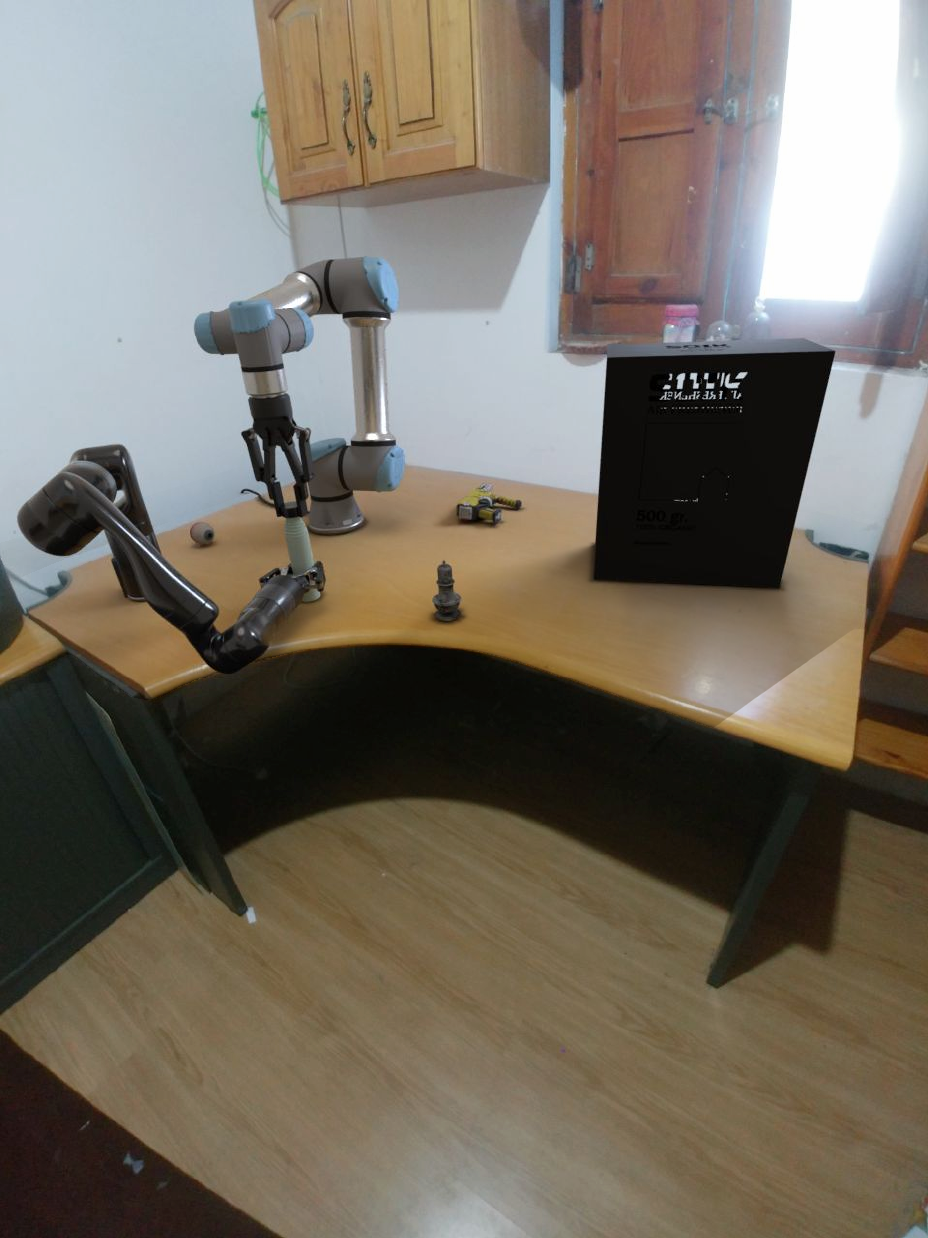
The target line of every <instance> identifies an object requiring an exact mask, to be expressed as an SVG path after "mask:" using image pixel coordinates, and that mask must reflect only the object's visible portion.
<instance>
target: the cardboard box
mask: <svg viewBox="0 0 928 1238" xmlns="http://www.w3.org/2000/svg"><path fill="white" fill-rule="evenodd" d="M835 356H836V350H834V349H831V348H829V347H827V346H824V345H821V344H819V343H816V342H814V341H812V340H810V339H806V338H804V337H799V338H798V337H797V338H796V337H795V338H794V337H793V338H767V339H766V338H765V339H737V340H736V339H735V340H732V339H731V340H707V341H705V340H703V341H675V342H672V341H671V342H670V341H669V342H648V343H647V342H646V343H645V342H644V343H643V342H642V343H639V342H638V343H613V344H612V343H611V344H609V343H607V349H606V363H605V364H606V365H605V367H606V368H605V381H604V396H603V411H602V412H603V413H602V429H601V444H600V445H601V446H600V461H599V477H598V479H599V480H598V494H597V507H596V508H597V509H596V511H597V512H596V523H595V524H596V525H595V538H594V539H595V540H594V559H593V561H594V562H593V579H592V580H595V581H612V582H613V581H616V582H617V581H618V582H636V583H638V582H639V583H660V584H661V583H662V584H680V585H681V584H682V585H683V584H684V585H706V586H726V587H727V586H729V587H748V588H749V587H750V588H751V587H752V588H770V589H771V588H772V589H780V588H781V583H782V579H783V575H784V571H785V567H786V562H787V558H788V554H789V550H790V545H791V542H792V539H793V538H792V537H793V533H794V529H795V524H796V521H797V516H798V512H799V507H800V505H801V504H800V503H801V499H802V495H803V491H804V488H805V487H804V486H805V483H806V478H807V475H808V474H807V473H808V469H809V465H810V461H811V457H812V452H813V450H814V449H813V448H814V444H815V441H816V437H817V431H818V428H819V423H820V420H821V415H822V410H823V407H824V402H825V398H826V393H827V389H828V385H829V381H830V377H831V372H832V368H833V365H834V360H835ZM741 373H746V374H745V375H744V377H741V378H738V376H739V374H741ZM682 374H684V378H683V381H682V385H681V386H682V388H678V385H679V384H678V383H679V379H678V377H679V376H680V375H682ZM692 374H696V378H695V379H694V378H691V376H692ZM706 374H707V378H705V375H706ZM723 375H724V376H723ZM727 377H729V378H728V381H727V382H728V385H729V384H731V385H732V384H738V385H737V387H727V385H726V379H727ZM722 379H723V380H722ZM694 384H696V385H697V384H698V387H695V388H694ZM708 384H713V388H712V387H711V388H710V387H709V388H708ZM666 386H668V387H669V388H665V387H666Z"/></svg>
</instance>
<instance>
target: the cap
mask: <svg viewBox="0 0 928 1238" xmlns="http://www.w3.org/2000/svg"><path fill="white" fill-rule="evenodd" d="M280 510H281V515H282V516H281V517H282V518H284V519H286V518H295V517H299V513H298V508H297V503H296V501H286V502H284V504H282V505H280Z"/></svg>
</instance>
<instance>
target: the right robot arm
mask: <svg viewBox="0 0 928 1238" xmlns="http://www.w3.org/2000/svg"><path fill="white" fill-rule="evenodd" d="M399 303H400V294H399V286H398V282H397V279H396V275H395V273H394V270H393V268H392V266H391V264H390V263H389V261H387V260H386V259H385V258H384V257H381V256H367V255H365V256H359V257H347V258H336V259H332V258H331V259H324V260H320V261H317V262H314V263H311V264H309V265H307V266H304V267H302V268H300V269H298V270H296V271H294V272H290V273H289V274H288V275H287V276H286V277H284V278H283V281H282V283H280V284H277V285H276V286H274V287H272V288H269V289H267V290H265V291H264V292H261V293H259V294H257V295H254V296H252V297H250V298H248V299H245V300H244V299H243V300H234V301H231V302H230V303H229V305H228V307H227V308H225V309H223V310H220V311H213V310H210V311H209V312H201V313H199V314H198V315H197V316H196V318H195V320H194V324H193V332H194V336H195V339H196V342H197V344H198V346H199V347H200V348H201V350H203V352H205V353H207V354H210V355H220V356H225V355H238V359H239V363H240V369H241V375H242V380H243V384H244V389H245V393H246V395H248V396H249V397H248V399H247V402H248V407H249V411H250V416H251V418H252V420H253V421H252V427H249V428H247V429H244V430H242V431H241V432H240V435H241V437H242V439H243V440H244V442H245V444H246V447H247V451H248V455H249V459H250V463H251V467H252V471H253V475H254V479H255V481H256V482H258V483H260V482H261V483H263V484H265V486H266V489H267V494H268V498H269V500H270V501H273V502H270V501H268V500H266V499H265V498H263V497H262V495H261V494H260V493H259V492H258V491H255V490H253V489H250V488H243V489H242V490H240V494H244V492H249V493H251V494H254V495H256V496H257V497H258V498H259V500H261V501H262V502H263V503H265V504H266V505H268V506H270V507H274V509H275V515H276V518H281V517H282V515H281V510H280V505H282V504H284V503H285V500H284V495H283V490H282V485H281V481H277V480H278V477H277V476H276V474H277V473H276V469H277V467H276V466H277V465H276V448H277V447H279V448H280V449H281V451H282V452H283V453H284V455H285V458H286V461H287V463H288V466H289V468H290V471H291V474H292V476H293V479H294V481H295V483H294V484H293V485H292V488H293V492H294V497H295V498H294V499H295V502H296V503H297V508H298V513H299V517H301V518H304V517H305V516H307V515H308V521H307V522H308V523H307V524H308V528H309V529H308V530H310V531H311V532H312V533H314V534H317V535H323V536H324V535H325V536H327V535H329V536H331V535H339V534H340V535H341V534H345V533H350V532H353V531H355V530H357V529H359V528H361V527H362V526H363V525H364V523H365V519H364V514H363V512H362V510H361V508H360V505H359V504H358V501H357V500H356V498H355V495H354V492H355V491H356V492H376V493H382V492H383V493H384V492H387V493H388V492H389V493H390V492H393V491H395V490H397V489H398V487H399V486H400V485H401V482H402V481H403V477H404V472H405V466H406V456H405V455H406V454H404V453H405V451H404V448H403V447H401V446H399V445H397V438H396V437H395V436H394V435H393V434H392V432H391V431H390V430H391V429H390V411H389V408H390V407H389V388H388V387H389V386H388V365H387V344H386V343H387V341H386V329H387V327H389V325H390V324H391V322H392V316H391V315H392V314H393V313H395V312H397V310H398V309H399ZM319 315H321V316H322V315H341V316H342V322H343V324H345V326H346V327H347V328H348V329H349V343H350V358H351V374H352V375H351V376H352V390H353V405H354V406H353V407H354V422H355V423H354V424H355V432H354V434H353V435H352V436H351V437H350V445H348V444H347V441H346V439H345V438H343V437H333V438H327V439H323V440H318V441H315V442H313V443H311V441H310V439H311V434H312V430H311V428H309V427H302V426H299V425H298V424H297V422H296V421H295V418H294V417H293V415H294V414H293V413H294V412H293V406H292V402H291V396H290V394H288V393H287V391H289V386H288V381H287V375H286V371H285V370H286V369H285V365H284V360H283V355H285V354H289V353H294V352H296V353H297V352H300V351H302V350H304V349H306V348H307V347H309V346H310V344H312V342H313V339H314V335H315V331H314V330H315V329H314V324H313V322H312V320H311V318H312V317H313V316H319ZM294 435H296V439H297V441H298V443H297V444H298V450H299V454H298V452H297V449H296V442H295V441H294V438H293V437H294ZM258 437H259V438H260V439H261V444H262V451H263V454H262V451H261V445H260V443H259V440H258ZM309 498H310V507H309V509H308V504H307V500H308V499H309Z"/></svg>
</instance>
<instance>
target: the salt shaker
mask: <svg viewBox="0 0 928 1238" xmlns="http://www.w3.org/2000/svg"><path fill="white" fill-rule="evenodd" d="M436 573H437V574H436V575H437V579H436V582H435V583H436V585H437V587H438V588H437V589H438V590H437V591H438V593H437V594H435V595H434V596H433V597H432V598H431V601H432V604H433V605H434V606H433V607H434V608H435V609H436V611H435V613H434V617H435V618H436V620H439V621H443V622H449V621H451V622H452V621H455V620H458V618H460V617H461V615H462V612H461V610H460V609H459V607H460V604H461V601H462V596H461V595H460V594H459V593H458V592H455V589H454V584H455V579H454V578H453V567H452V565H450V564H449V563H447V562H446V560H443V561H442V562H441V564H439V565H438V566H437V568H436Z"/></svg>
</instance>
